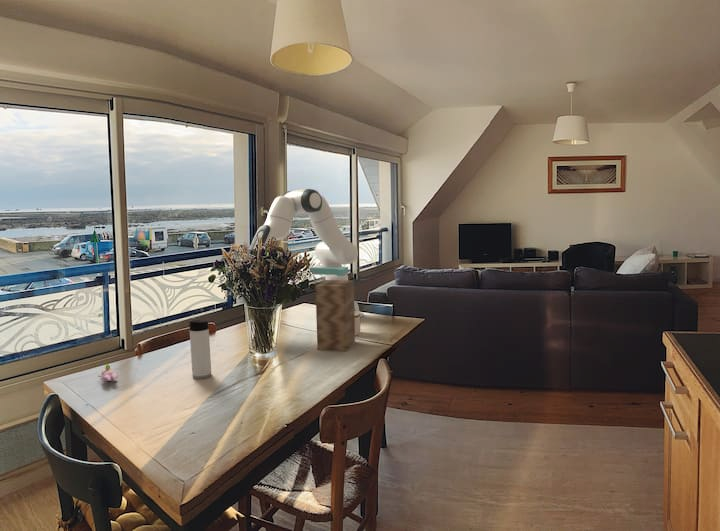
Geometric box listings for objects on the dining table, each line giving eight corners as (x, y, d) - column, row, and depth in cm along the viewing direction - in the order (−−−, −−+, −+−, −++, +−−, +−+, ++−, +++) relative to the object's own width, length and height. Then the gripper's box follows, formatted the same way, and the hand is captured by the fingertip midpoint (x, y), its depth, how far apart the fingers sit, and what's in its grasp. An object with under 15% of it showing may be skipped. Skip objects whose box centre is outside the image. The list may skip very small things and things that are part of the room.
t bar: (298, 275, 206) (298, 269, 205) (305, 272, 214) (305, 266, 213) (343, 276, 202) (343, 269, 201) (348, 272, 209) (348, 266, 209)
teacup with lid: (363, 331, 231) (363, 306, 229) (355, 337, 223) (355, 310, 221) (339, 329, 236) (339, 304, 234) (330, 334, 227) (330, 308, 226)
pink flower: (97, 381, 178) (102, 387, 166) (95, 364, 178) (100, 368, 166) (116, 377, 182) (123, 382, 169) (114, 360, 182) (121, 364, 169)
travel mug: (188, 379, 174) (184, 321, 172) (197, 372, 181) (194, 317, 178) (206, 380, 173) (202, 322, 170) (214, 373, 180) (211, 317, 177)
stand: (317, 349, 205) (315, 285, 202) (327, 340, 219) (325, 279, 215) (346, 351, 202) (345, 286, 199) (354, 341, 216) (353, 280, 212)
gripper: (269, 283, 202) (297, 266, 199) (288, 275, 222) (314, 259, 218) (277, 297, 202) (306, 280, 199) (296, 287, 222) (322, 272, 218)
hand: (310, 269), depth 209 cm, fingers closed on t bar, 3 cm apart
